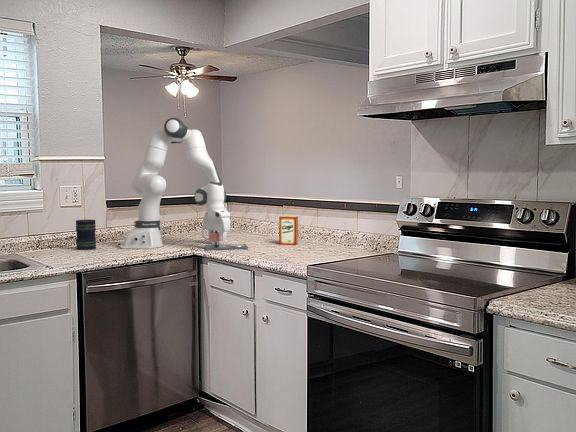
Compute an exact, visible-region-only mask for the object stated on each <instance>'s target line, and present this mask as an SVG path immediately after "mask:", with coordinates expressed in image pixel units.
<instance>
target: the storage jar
mask: <svg viewBox="0 0 576 432" xmlns="http://www.w3.org/2000/svg"><path fill="white" fill-rule="evenodd" d="M96 230H97V229H96V220H95V219H77V220H75V232H76V240H75V241H76V242H75V243H76V251H91V250H93V251H94V250H96V249H97V247H96V246H97V238H96Z"/></svg>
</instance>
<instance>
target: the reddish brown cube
mask: <svg viewBox="0 0 576 432" xmlns="http://www.w3.org/2000/svg"><path fill="white" fill-rule="evenodd" d="M218 236H219V232H218V231H215V232H212V233H209V236H208V238H209V240H208V241H209V242H210V241H214V242H216V241H223V236H222V240H218Z"/></svg>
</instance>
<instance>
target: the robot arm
mask: <svg viewBox="0 0 576 432" xmlns="http://www.w3.org/2000/svg"><path fill="white" fill-rule="evenodd" d="M182 143H183V145H184V150H185V154H186V155H185V156H186V159H187V161H188V163H190V165H191V166H193V167H194V168H195V167H196V168H198V169H200V170H201V171H203V172H205V174H206V175H207V177H208V180H209V182H208V183H207V184H206V185H205V186H202V187H201V188H197V189H196V191H195V192H194V194H193V195H194V196H193V197H194V201H195V203H196V204H197V205H198V206H201V207H202V206H203V207H204V206H206V207H207V211H206V212H205V213H204V217H203V223H202V227H204V229H203V230H207V231H208V230H209V232H210V233H212V232H214V230H215V231H219V236H218V240H222V236H223V233H224V232H227V233H228V232H230V231H231V219H230V217H231V213H230V212H229V211H227V210H226V208H225V202H226V200H227V193H226V190H225V188H224V185H223V183H222V181H221V177H220V174H219V173H218V169H217V167H216V164H215V162H214V161H213V159H212V158H211V157H210V155H209V153H208V150H207V147H206V142H205V139H204V137H203V133H202V132H201V131H200V130H198V129H189V128H188V126H187V125H186V124H185V123H184V122H183V121H182V120H181V119H179V118H177V117H170V118H168V119H167V120H166V121H165V122H164V124H163V129H160V128H157V129H153V130H152V131H151V133H150V135H149V137H148V140H147V143H146V147H145V151H144V155H143V159H142V162H141V164H140V166H139V169H138V170H137V173H136V174H135V175H134V176H133V178H132V179H131V181H130V182H131V183H130V185H131V188H132V190H133V191H134V192H136V193H138V194H139V195H141V200H140V202H139V204H138V205H137V211H138V212H137V213H138V214H137V215H138V217H137V219H138V220H135V221H134V222H133V224H134V228H133V229H131V230H130V231H129V232H128V233H126V235H125V236H124V238H123V243H122V244H121V243H120V245H119V248H120V249H126V250H127V249H129V250H130V249H137V250H139V249H141V250H142V249H144V250H145V249H146V250H148V249H154V248H155V249H156V248H160V247H163V246H164V244H163V242H162V241H163V240H162V236H161V227H162V225H161V220H160V204H161V200H162V197H163V194H164V192H165V191H166V188H167V182H166V179H165V178H164V177H163V176H161V175H159V172H160V171H161V169H162V168H163V167H164V165H165V162H166V157H167V153H168V148H169V145H170V144H182Z"/></svg>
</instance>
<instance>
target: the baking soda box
mask: <svg viewBox="0 0 576 432" xmlns="http://www.w3.org/2000/svg"><path fill="white" fill-rule="evenodd" d="M278 218H279V220H278V221H279V225H278V226H279V227H278V236H279V237H278V238H279V239H278V241H279V242H278V243H279V246H297V245H298V244H299V216H298V215H289V214H288V215H280V216H279V217H278Z"/></svg>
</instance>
